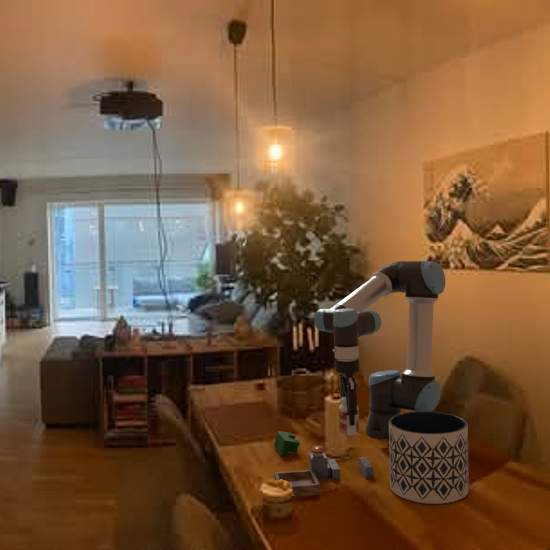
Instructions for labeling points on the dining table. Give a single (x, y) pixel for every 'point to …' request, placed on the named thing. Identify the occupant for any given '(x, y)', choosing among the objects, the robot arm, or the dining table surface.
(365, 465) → the socket
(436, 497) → the planter
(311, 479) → the tray
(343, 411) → the pill bottle
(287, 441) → the clamp
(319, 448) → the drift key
